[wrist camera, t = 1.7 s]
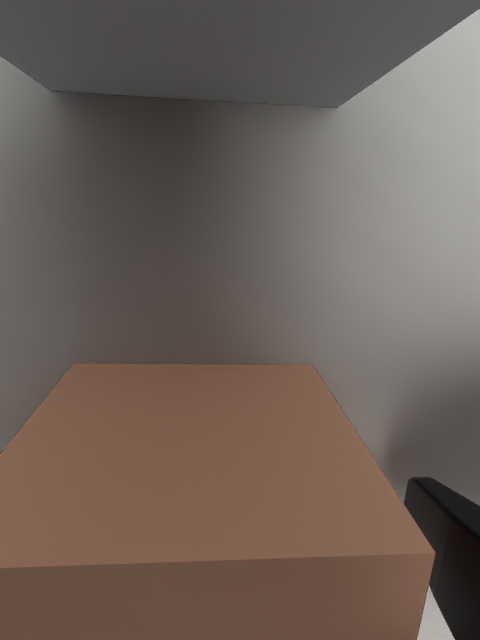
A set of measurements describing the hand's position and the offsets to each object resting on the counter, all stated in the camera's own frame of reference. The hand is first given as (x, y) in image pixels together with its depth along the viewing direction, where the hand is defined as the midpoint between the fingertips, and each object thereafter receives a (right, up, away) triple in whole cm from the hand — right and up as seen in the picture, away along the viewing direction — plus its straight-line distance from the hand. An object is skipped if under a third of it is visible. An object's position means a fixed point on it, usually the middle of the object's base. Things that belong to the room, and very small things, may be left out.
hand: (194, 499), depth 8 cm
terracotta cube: (0, 0, +1) cm, 1 cm away
